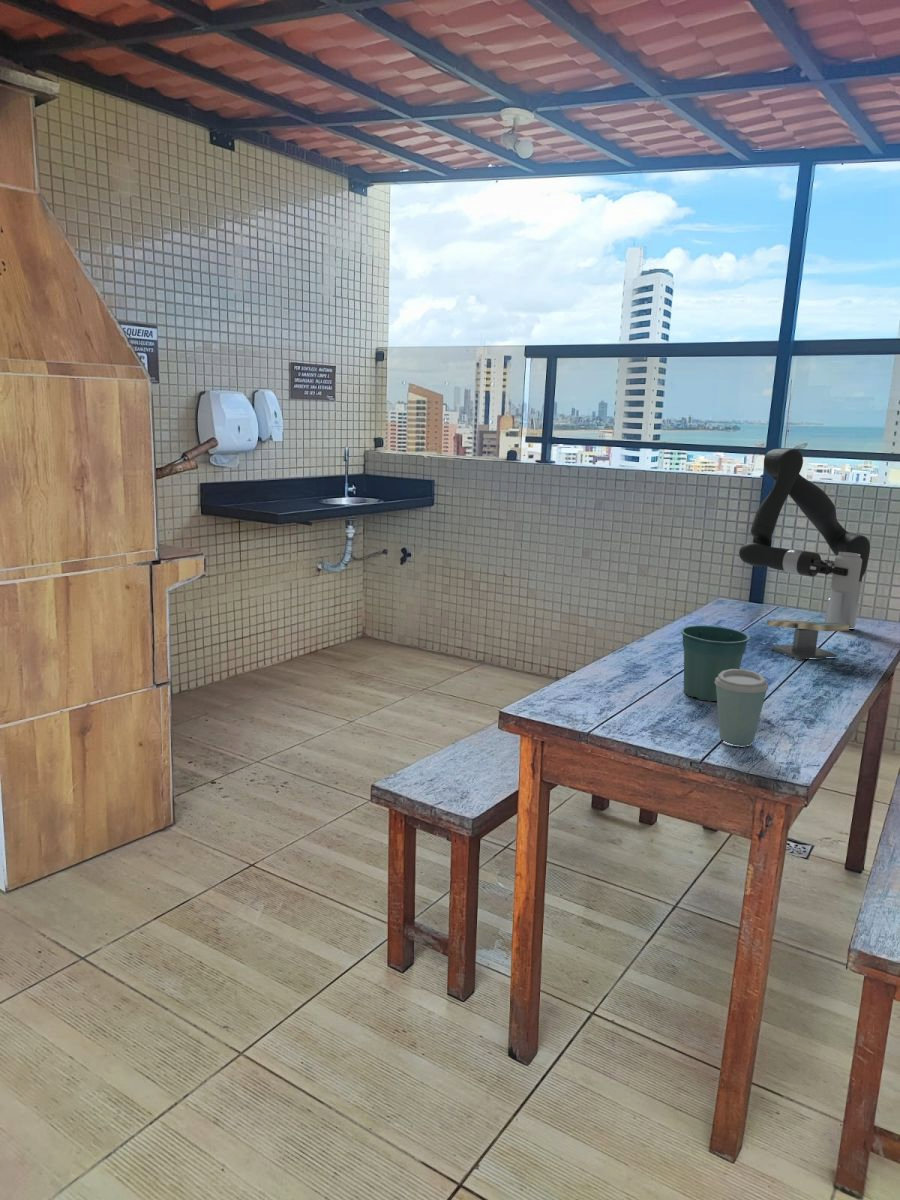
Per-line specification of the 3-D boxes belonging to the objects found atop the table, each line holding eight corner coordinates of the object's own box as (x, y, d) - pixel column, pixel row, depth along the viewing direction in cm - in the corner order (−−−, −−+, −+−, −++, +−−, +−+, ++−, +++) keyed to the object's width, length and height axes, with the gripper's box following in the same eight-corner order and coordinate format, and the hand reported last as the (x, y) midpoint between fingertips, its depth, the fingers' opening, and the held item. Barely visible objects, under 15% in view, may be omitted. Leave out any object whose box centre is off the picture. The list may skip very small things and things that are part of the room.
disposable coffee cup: (760, 755, 172) (769, 685, 169) (705, 746, 176) (713, 677, 173) (761, 738, 182) (770, 672, 179) (710, 730, 185) (717, 665, 182)
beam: (764, 625, 266) (764, 619, 266) (789, 624, 269) (789, 619, 269) (824, 631, 241) (824, 625, 241) (851, 630, 244) (851, 624, 244)
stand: (771, 649, 260) (774, 625, 258) (808, 648, 264) (811, 623, 262) (797, 660, 249) (801, 634, 247) (836, 658, 253) (840, 633, 251)
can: (861, 595, 253) (867, 555, 250) (836, 593, 253) (842, 554, 250) (850, 590, 260) (856, 552, 257) (826, 588, 260) (832, 550, 257)
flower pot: (729, 710, 200) (737, 645, 196) (664, 695, 209) (670, 632, 206) (751, 695, 213) (759, 633, 209) (689, 681, 222) (695, 622, 219)
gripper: (792, 552, 260) (844, 560, 248) (814, 549, 269) (866, 557, 257) (788, 576, 262) (840, 585, 249) (810, 572, 271) (862, 581, 259)
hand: (853, 571), depth 253 cm, fingers closed on can, 7 cm apart
